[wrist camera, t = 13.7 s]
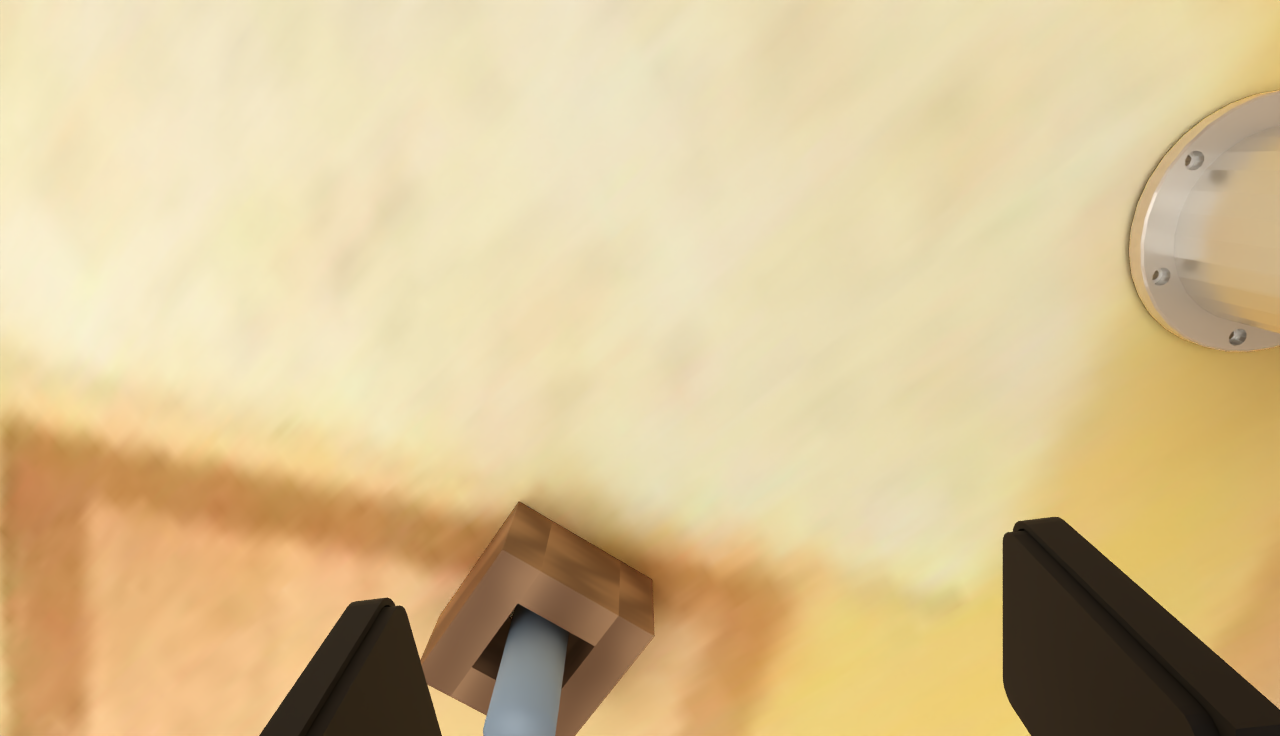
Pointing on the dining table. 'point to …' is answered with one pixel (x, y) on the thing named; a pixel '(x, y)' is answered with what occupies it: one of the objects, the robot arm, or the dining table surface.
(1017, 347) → the dining table surface
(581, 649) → the box with hole
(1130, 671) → the robot arm
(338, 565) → the dining table surface
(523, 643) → the peg
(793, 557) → the dining table surface
